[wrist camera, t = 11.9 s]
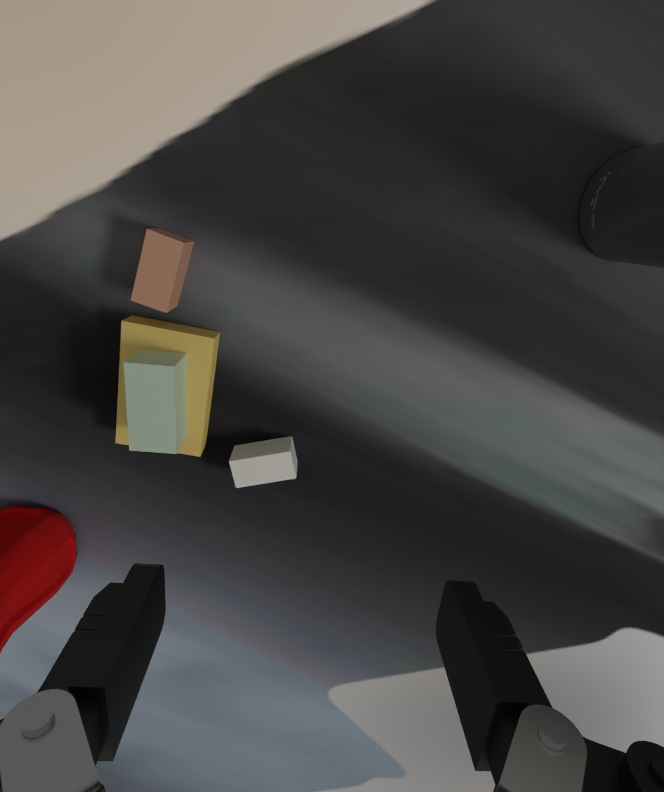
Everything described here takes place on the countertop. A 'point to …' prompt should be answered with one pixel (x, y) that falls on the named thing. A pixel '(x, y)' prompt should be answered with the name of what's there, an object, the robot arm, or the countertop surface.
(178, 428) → the sage brick
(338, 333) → the countertop surface
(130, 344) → the mustard base brick
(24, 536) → the water bottle
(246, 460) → the cream brick
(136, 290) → the rust brick
